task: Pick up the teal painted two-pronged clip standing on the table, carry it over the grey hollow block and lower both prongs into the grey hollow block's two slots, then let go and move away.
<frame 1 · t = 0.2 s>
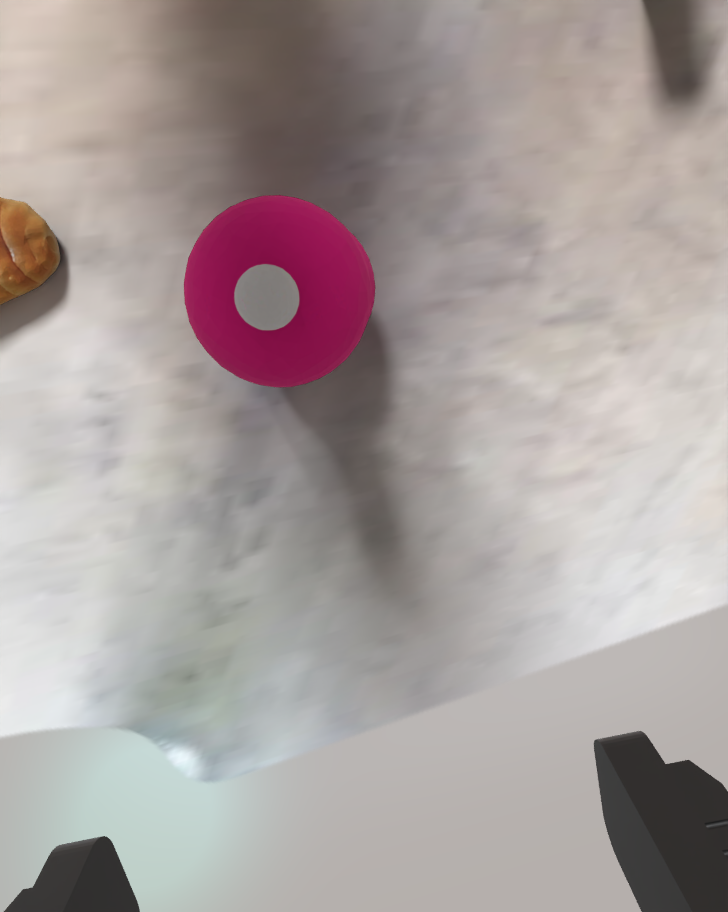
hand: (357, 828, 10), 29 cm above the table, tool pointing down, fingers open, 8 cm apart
pepper mill: (308, 288, 36), on the table
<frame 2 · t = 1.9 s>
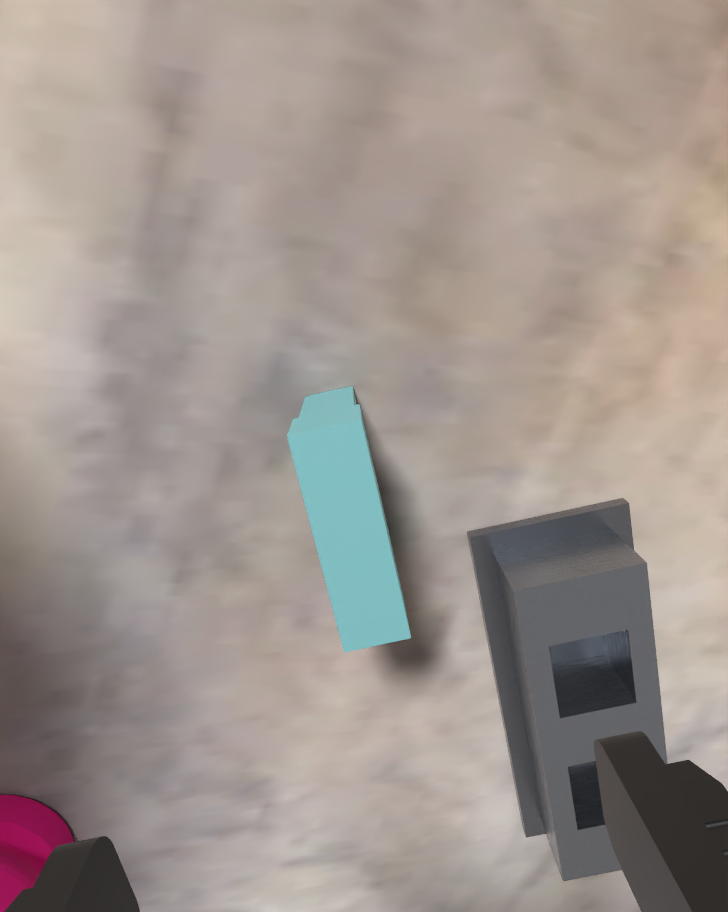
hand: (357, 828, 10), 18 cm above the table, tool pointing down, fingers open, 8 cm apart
clip: (350, 480, 27), on the table
pepper mill: (15, 838, 32), on the table
grey hollow block: (568, 676, 30), on the table
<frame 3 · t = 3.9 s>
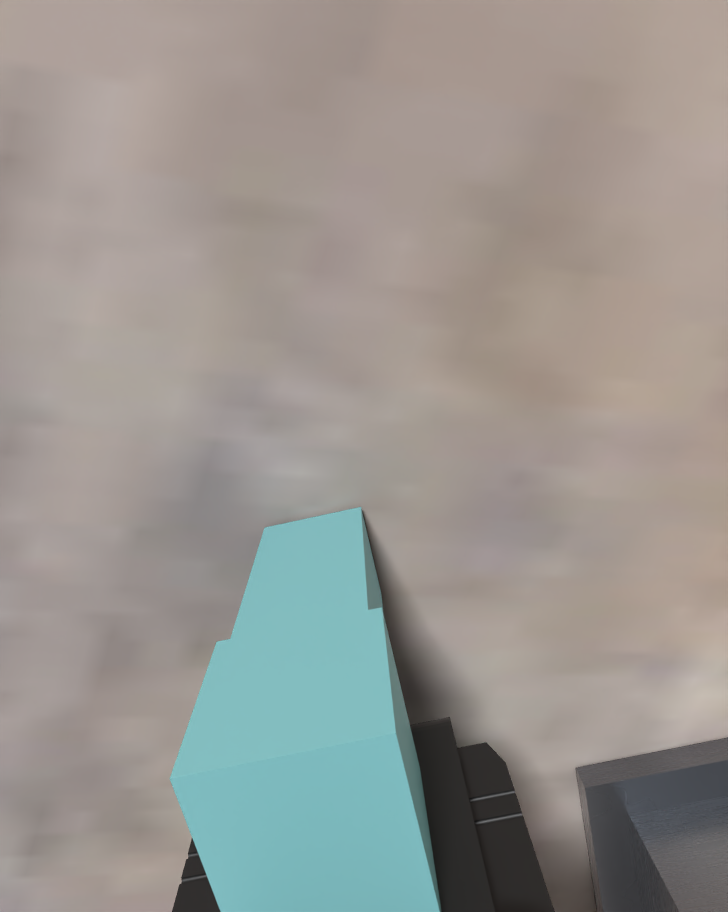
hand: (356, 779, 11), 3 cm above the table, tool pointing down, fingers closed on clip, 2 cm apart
clip: (355, 681, 14), on the table, touching gripper
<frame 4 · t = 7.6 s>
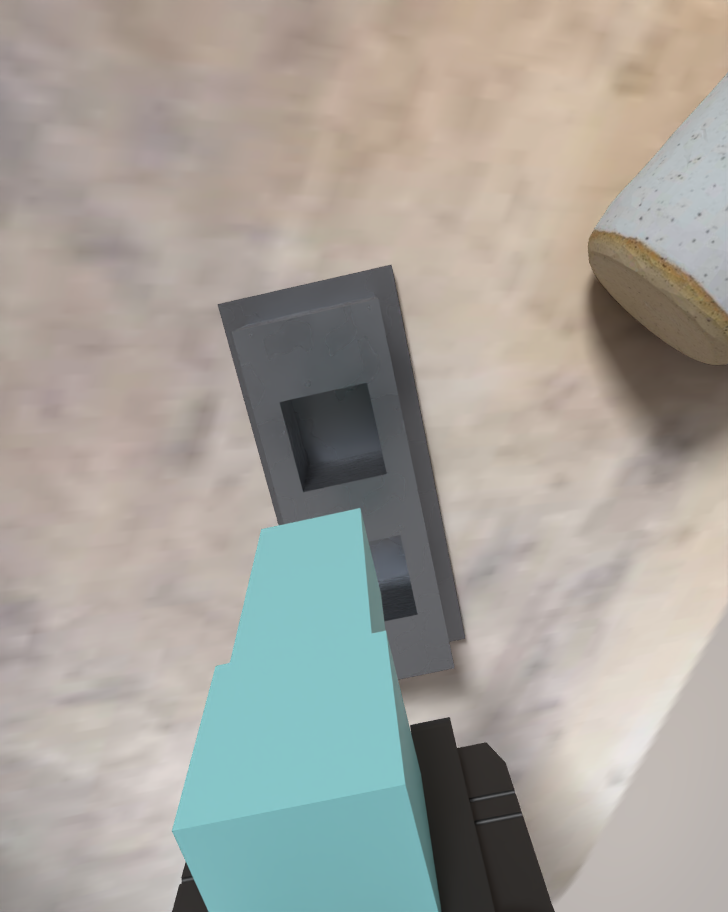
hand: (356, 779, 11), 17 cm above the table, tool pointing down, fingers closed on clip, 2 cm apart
ceramic mug: (708, 246, 26), on the table
clip: (354, 678, 14), point 14 cm above the table, touching gripper
grey hollow block: (351, 480, 28), on the table
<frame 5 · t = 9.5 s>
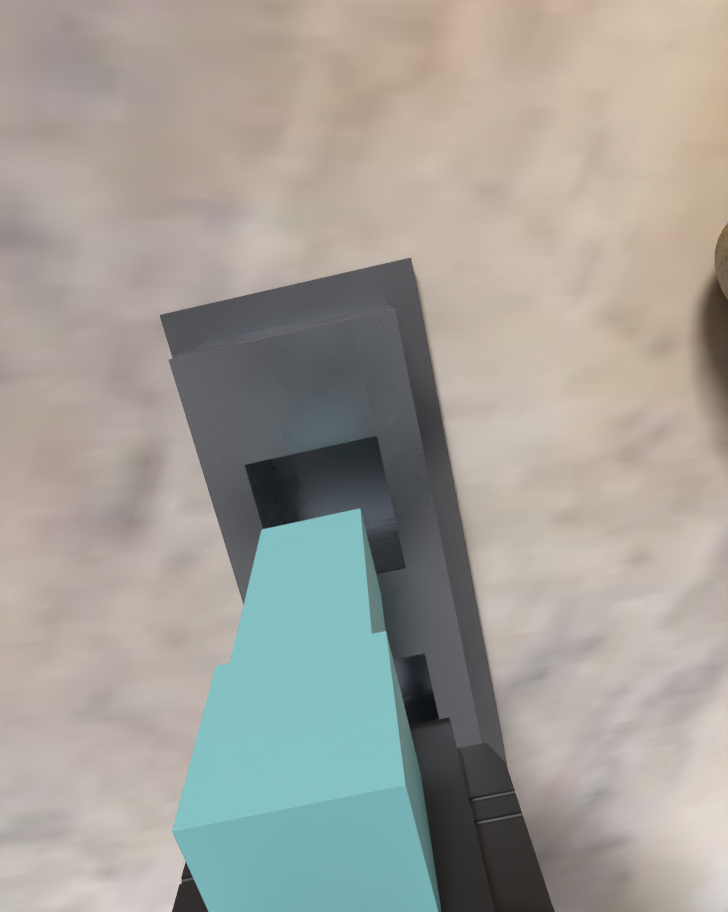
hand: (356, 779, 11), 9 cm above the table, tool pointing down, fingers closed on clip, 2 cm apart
clip: (354, 678, 14), point 6 cm above the table, touching gripper
grey hollow block: (352, 557, 20), on the table
when the fingers open (4 cm above the table, at t = 11.2 s): clip stays where it is, resting on grey hollow block.
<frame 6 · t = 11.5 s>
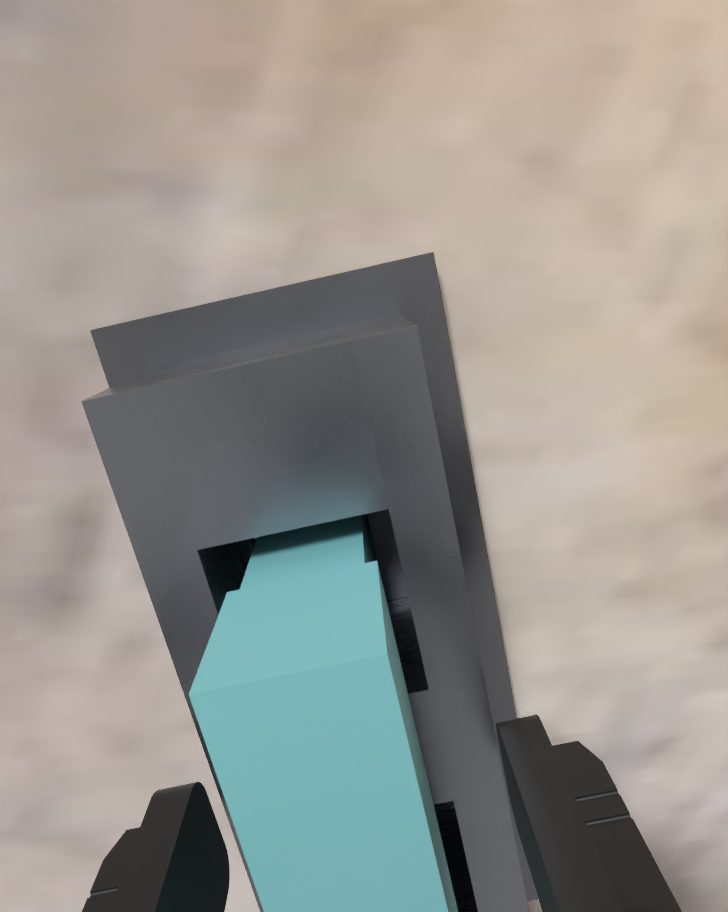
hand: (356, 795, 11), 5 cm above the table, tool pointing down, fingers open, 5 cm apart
clip: (354, 648, 15), point 1 cm above the table, touching grey hollow block
grey hollow block: (353, 641, 15), on the table
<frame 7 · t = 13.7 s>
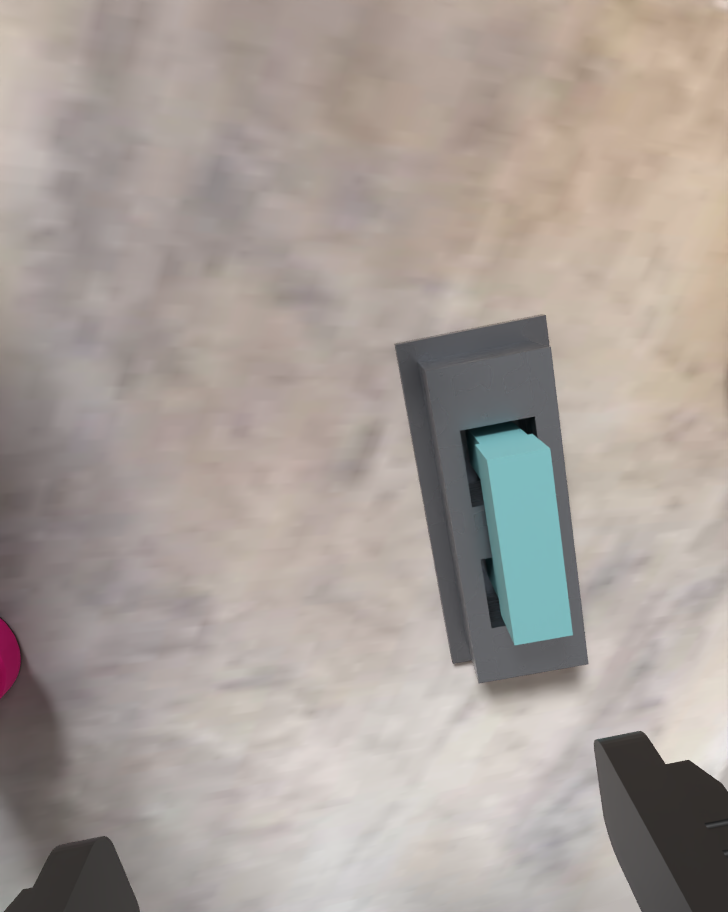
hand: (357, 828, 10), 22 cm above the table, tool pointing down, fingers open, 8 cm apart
clip: (496, 498, 31), point 1 cm above the table, touching grey hollow block
grey hollow block: (493, 498, 32), on the table
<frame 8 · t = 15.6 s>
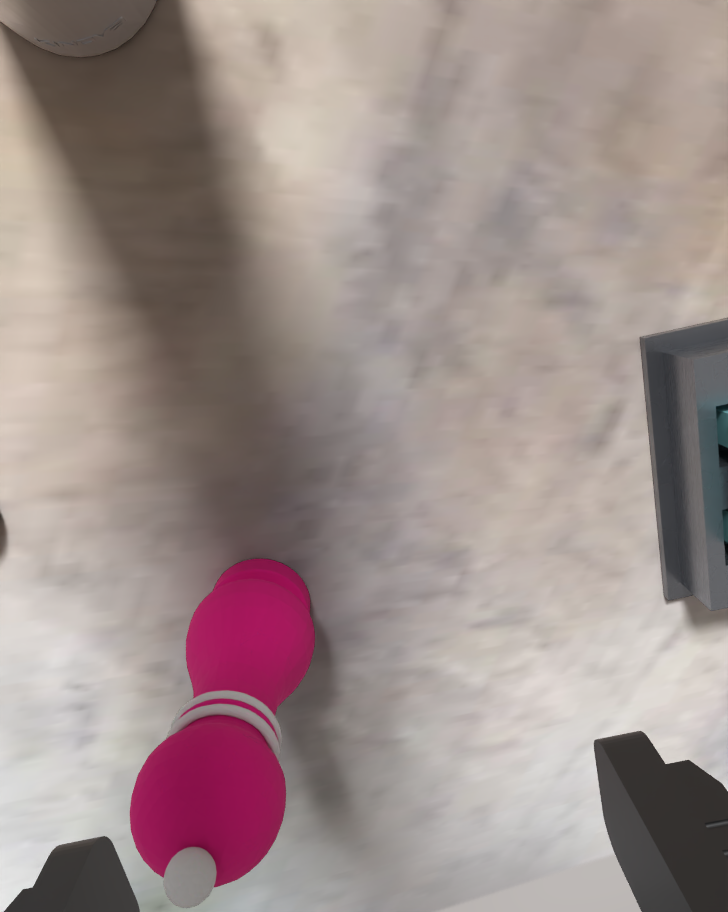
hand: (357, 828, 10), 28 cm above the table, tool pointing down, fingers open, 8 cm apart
clip: (715, 461, 38), point 1 cm above the table, touching grey hollow block
pepper mill: (262, 600, 40), on the table
grey hollow block: (709, 462, 38), on the table
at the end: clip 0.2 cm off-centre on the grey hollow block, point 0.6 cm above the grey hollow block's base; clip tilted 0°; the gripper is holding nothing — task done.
